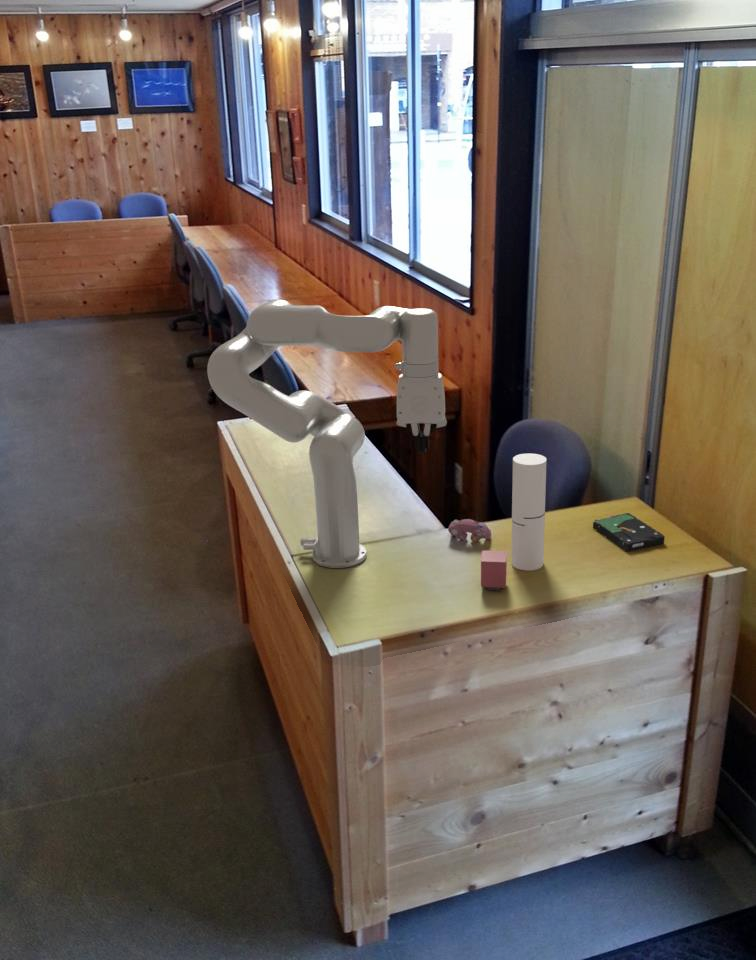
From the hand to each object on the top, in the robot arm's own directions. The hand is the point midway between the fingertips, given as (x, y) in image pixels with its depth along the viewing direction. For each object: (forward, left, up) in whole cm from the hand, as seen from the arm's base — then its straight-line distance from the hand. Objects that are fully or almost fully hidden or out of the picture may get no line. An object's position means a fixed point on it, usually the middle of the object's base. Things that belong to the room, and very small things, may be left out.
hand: (422, 451), depth 201 cm
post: (+16, -10, -27) cm, 33 cm away
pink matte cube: (+16, -10, -26) cm, 32 cm away
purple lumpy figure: (+9, +13, -27) cm, 32 cm away
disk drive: (+46, +18, -28) cm, 57 cm away
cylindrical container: (+23, +2, -27) cm, 36 cm away
